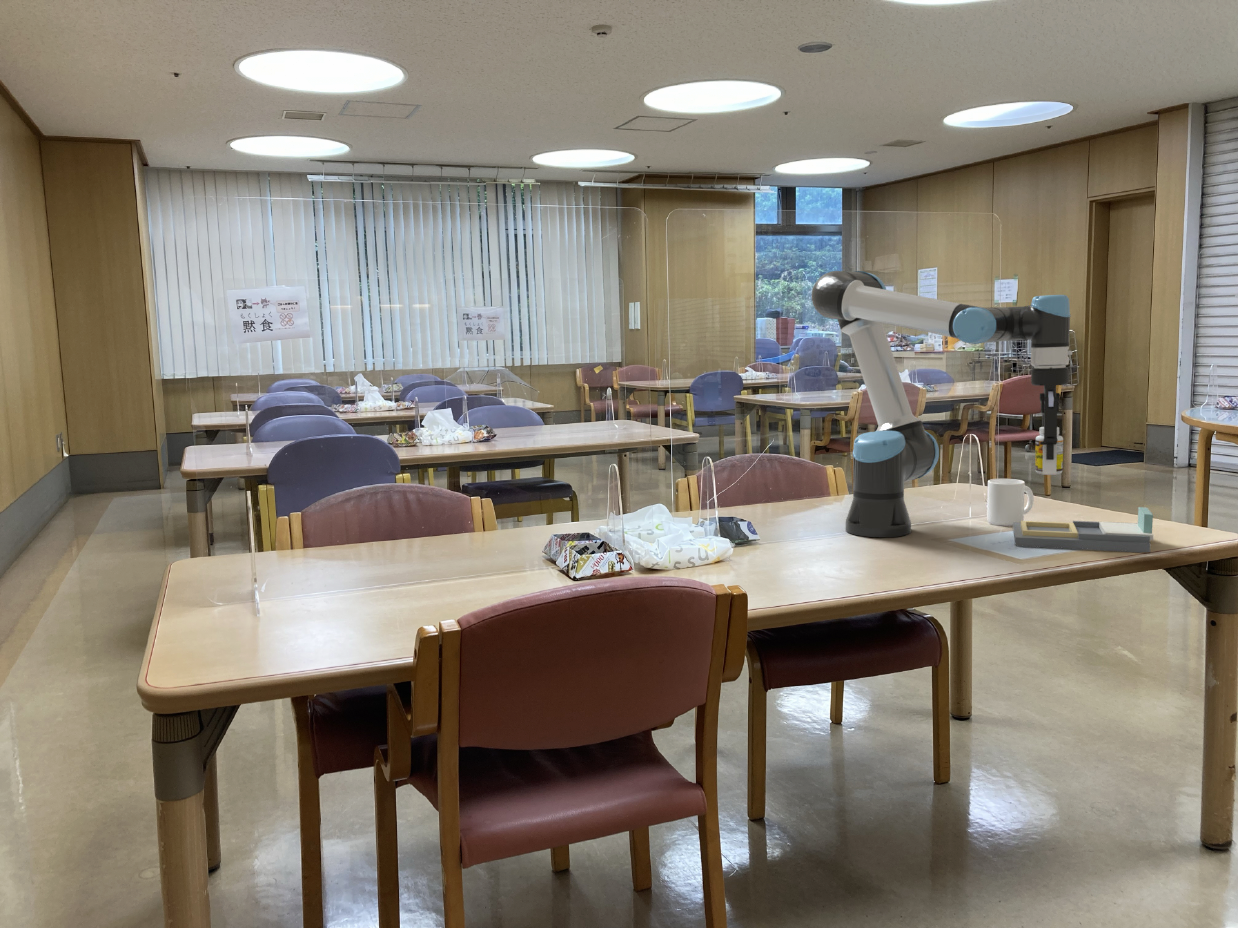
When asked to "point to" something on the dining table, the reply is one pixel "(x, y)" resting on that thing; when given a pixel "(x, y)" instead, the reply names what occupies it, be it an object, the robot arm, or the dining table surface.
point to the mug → (1007, 501)
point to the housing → (1076, 537)
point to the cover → (1131, 525)
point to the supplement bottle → (1040, 453)
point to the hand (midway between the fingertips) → (1048, 471)
